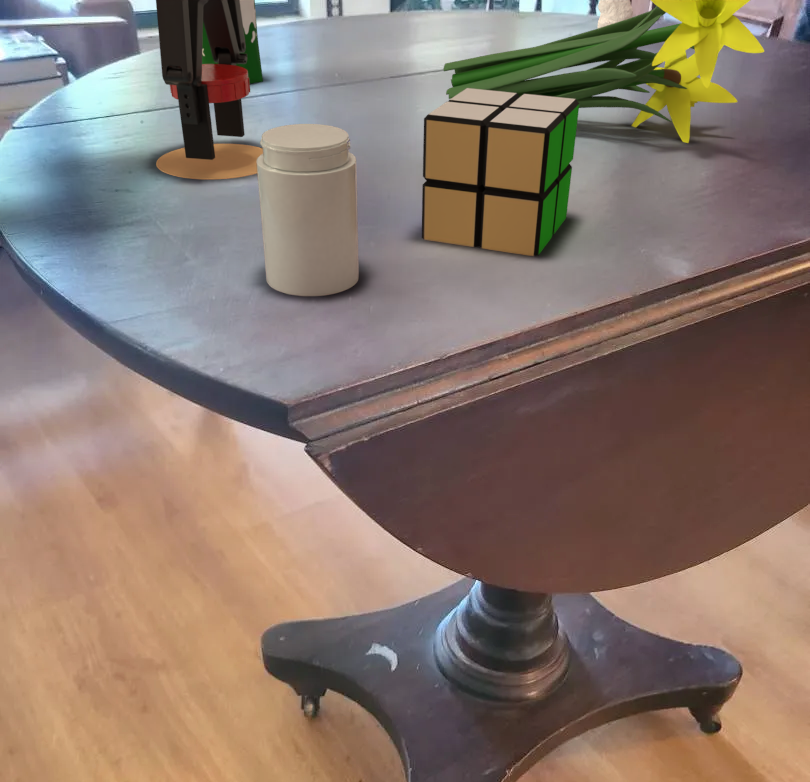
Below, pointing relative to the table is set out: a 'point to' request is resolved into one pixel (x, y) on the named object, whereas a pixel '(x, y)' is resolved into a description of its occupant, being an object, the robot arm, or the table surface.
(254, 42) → the milk carton
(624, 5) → the koala figurine
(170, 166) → the coaster
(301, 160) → the jar
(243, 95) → the lid
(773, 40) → the table surface
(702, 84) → the daffodil flowers
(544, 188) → the puzzle cube
